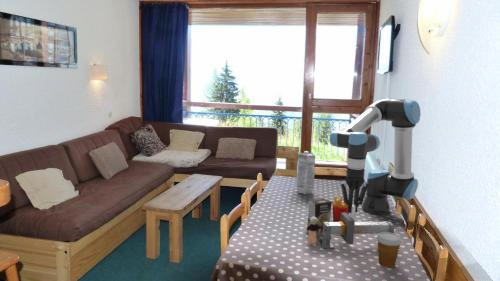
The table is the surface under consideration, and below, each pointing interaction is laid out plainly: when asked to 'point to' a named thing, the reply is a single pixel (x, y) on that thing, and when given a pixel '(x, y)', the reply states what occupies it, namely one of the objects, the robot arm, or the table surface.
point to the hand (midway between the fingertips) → (351, 219)
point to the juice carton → (305, 172)
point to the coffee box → (319, 212)
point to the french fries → (339, 209)
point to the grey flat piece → (348, 228)
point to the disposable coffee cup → (388, 248)
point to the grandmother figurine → (312, 231)
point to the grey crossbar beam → (358, 229)
